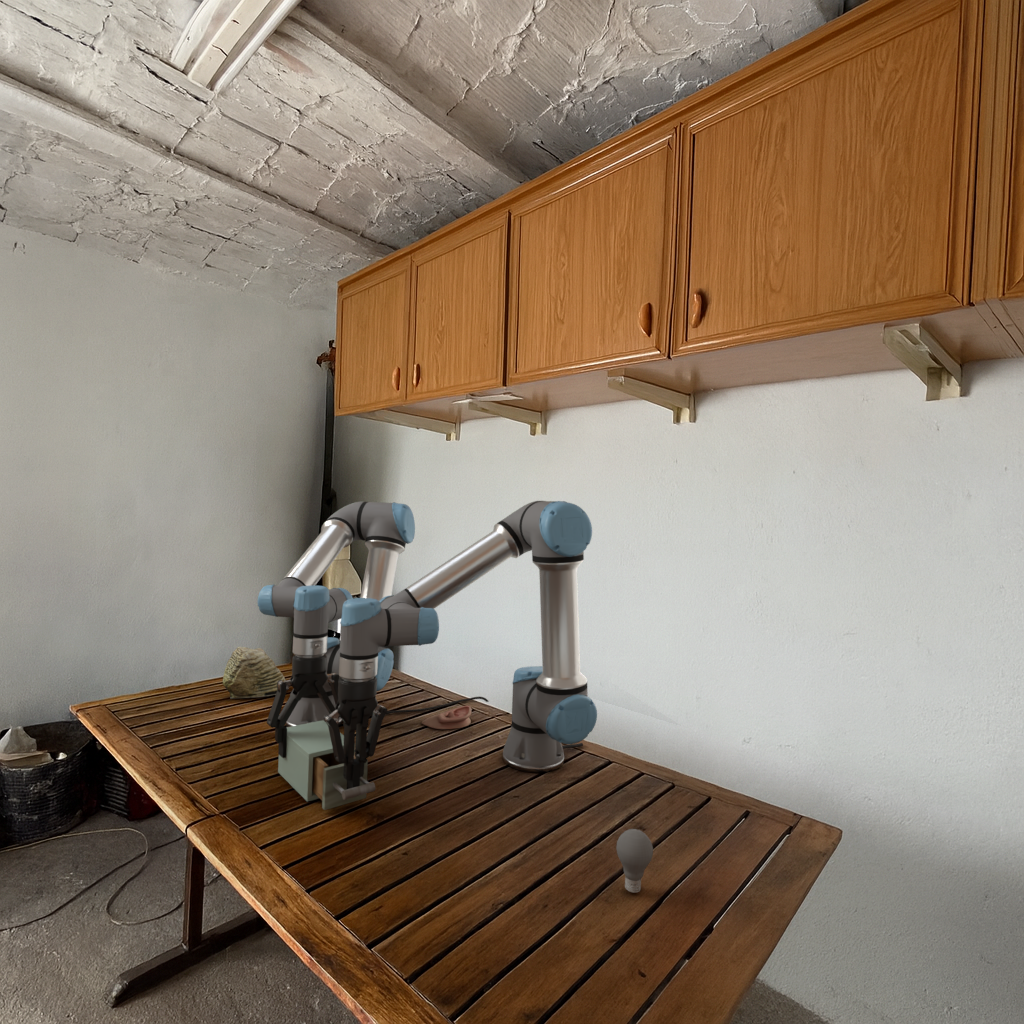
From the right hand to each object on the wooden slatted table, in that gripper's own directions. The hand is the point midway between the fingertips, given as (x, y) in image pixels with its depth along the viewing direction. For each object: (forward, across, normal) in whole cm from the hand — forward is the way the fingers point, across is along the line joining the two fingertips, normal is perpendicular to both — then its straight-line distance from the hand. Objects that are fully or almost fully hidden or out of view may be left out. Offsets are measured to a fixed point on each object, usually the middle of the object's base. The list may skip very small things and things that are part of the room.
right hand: (352, 793), depth 127 cm
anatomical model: (+5, +44, +33) cm, 56 cm away
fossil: (+5, +7, +86) cm, 86 cm away
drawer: (+3, 0, +8) cm, 9 cm away
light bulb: (+4, +27, -49) cm, 56 cm away
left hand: (0, 0, +24) cm, 24 cm away
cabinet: (+5, 0, +19) cm, 19 cm away
